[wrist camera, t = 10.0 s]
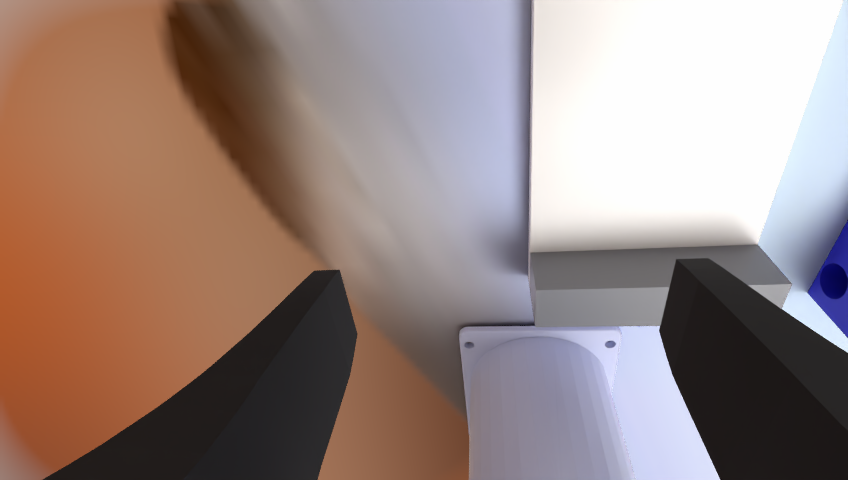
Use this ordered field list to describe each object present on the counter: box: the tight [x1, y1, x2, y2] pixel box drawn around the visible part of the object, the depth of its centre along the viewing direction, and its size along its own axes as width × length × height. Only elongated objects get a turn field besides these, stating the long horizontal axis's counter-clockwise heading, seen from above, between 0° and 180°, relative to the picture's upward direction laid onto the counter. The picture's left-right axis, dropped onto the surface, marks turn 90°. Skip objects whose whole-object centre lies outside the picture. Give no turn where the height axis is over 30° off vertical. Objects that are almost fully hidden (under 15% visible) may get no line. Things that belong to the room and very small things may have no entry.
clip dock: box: [528, 0, 843, 327], centre depth 15 cm, size 18×9×3 cm, turn 7°
